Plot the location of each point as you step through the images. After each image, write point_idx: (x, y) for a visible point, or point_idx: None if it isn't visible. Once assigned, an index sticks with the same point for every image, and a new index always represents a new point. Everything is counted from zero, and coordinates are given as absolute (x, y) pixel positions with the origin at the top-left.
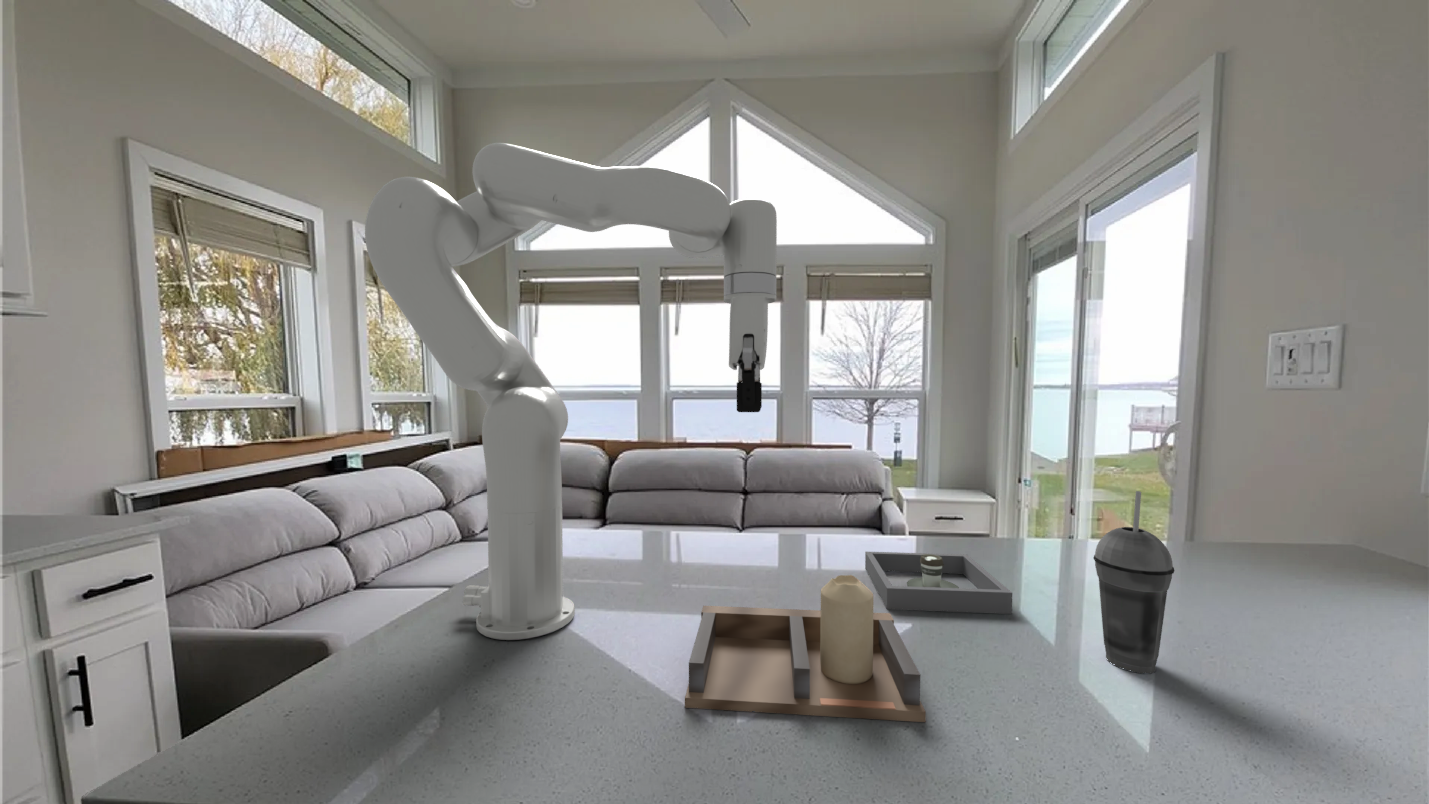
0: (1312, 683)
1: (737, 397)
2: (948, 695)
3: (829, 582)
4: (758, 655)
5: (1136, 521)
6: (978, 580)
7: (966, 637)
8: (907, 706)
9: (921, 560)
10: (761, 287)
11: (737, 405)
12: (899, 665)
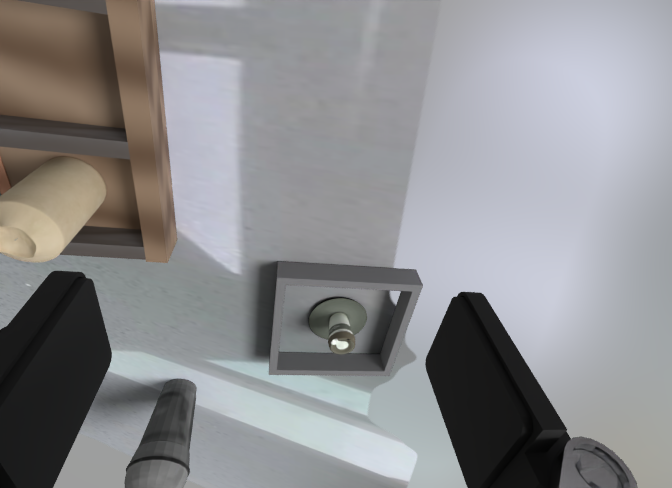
0: None
1: (5, 334)
2: (82, 260)
3: (7, 219)
4: (81, 79)
5: None
6: (336, 360)
7: (210, 308)
8: None
9: (341, 334)
10: None
11: (35, 294)
12: None
